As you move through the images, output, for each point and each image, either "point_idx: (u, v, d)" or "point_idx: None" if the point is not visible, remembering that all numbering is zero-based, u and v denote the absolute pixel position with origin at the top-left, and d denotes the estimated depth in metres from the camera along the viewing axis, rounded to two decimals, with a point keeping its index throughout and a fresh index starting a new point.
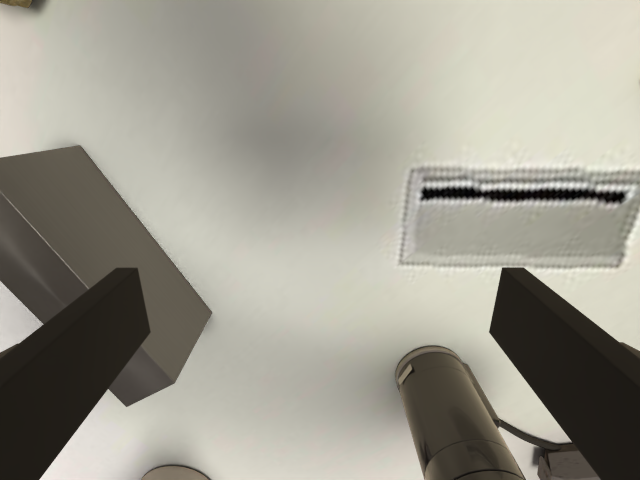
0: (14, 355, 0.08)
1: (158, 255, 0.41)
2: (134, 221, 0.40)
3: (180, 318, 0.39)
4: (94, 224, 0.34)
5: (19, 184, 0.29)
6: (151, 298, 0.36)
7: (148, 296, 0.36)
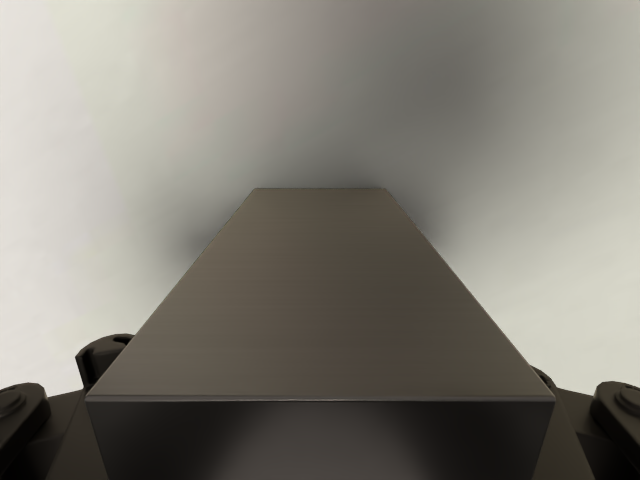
0: None
1: None
2: None
3: None
4: None
5: None
6: None
7: None
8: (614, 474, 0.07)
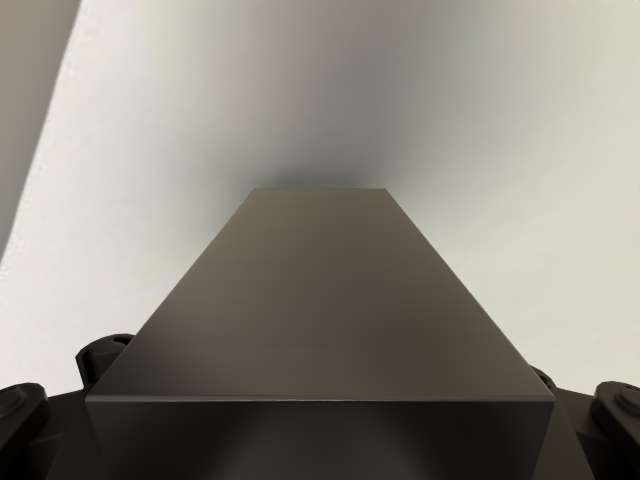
0: None
1: None
2: None
3: None
4: None
5: None
6: None
7: None
8: (614, 474, 0.07)
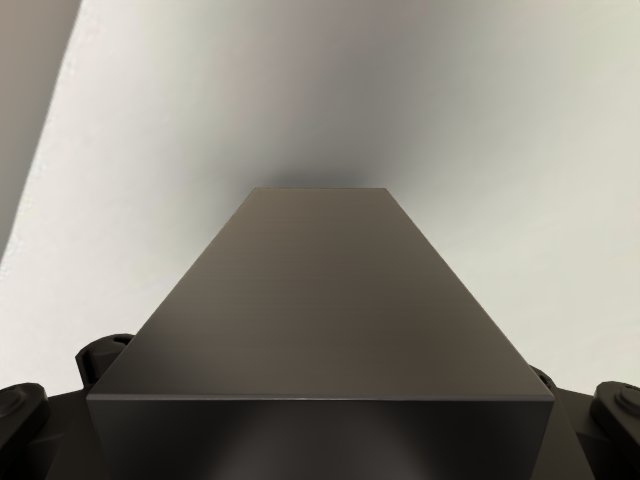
0: None
1: None
2: None
3: None
4: None
5: None
6: None
7: None
8: (614, 474, 0.07)
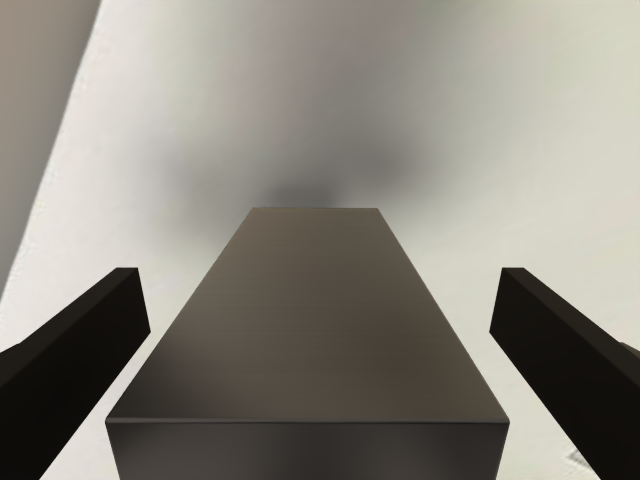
0: (14, 355, 0.08)
1: None
2: None
3: None
4: None
5: None
6: None
7: None
8: None
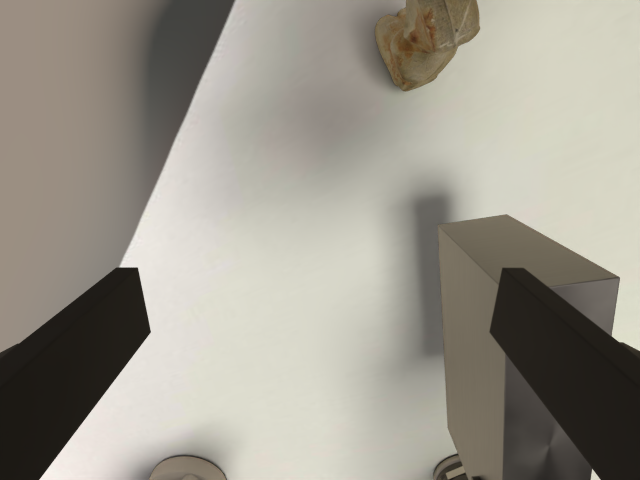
0: (14, 355, 0.08)
1: None
2: None
3: None
4: None
5: None
6: None
7: None
8: None
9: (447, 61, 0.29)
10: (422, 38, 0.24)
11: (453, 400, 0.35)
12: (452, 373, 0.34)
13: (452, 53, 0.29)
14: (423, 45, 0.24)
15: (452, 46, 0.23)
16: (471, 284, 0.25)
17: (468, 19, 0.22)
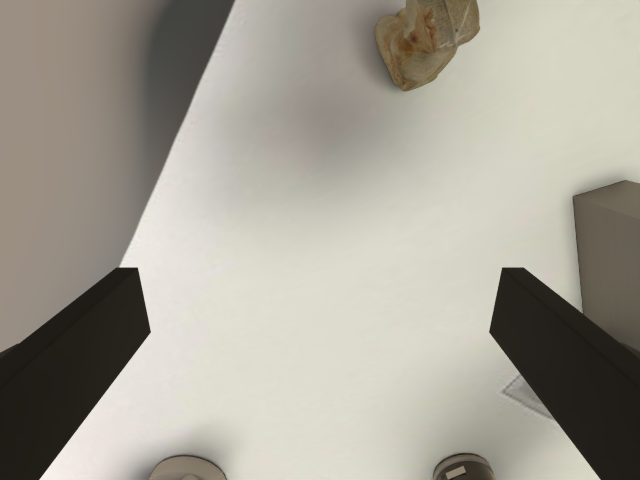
0: (14, 355, 0.08)
1: None
2: None
3: None
4: None
5: None
6: None
7: None
8: None
9: (447, 61, 0.29)
10: (422, 38, 0.24)
11: None
12: (595, 307, 0.44)
13: (452, 53, 0.29)
14: (423, 45, 0.24)
15: (452, 46, 0.23)
16: (624, 232, 0.35)
17: (468, 19, 0.22)
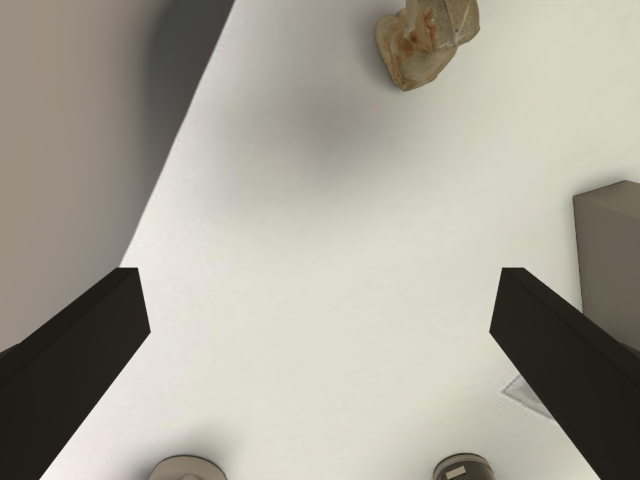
0: (14, 355, 0.08)
1: None
2: None
3: None
4: None
5: None
6: None
7: None
8: None
9: (447, 61, 0.29)
10: (422, 38, 0.24)
11: None
12: (595, 307, 0.44)
13: (452, 53, 0.29)
14: (423, 45, 0.24)
15: (452, 46, 0.23)
16: (624, 232, 0.35)
17: (468, 19, 0.22)
